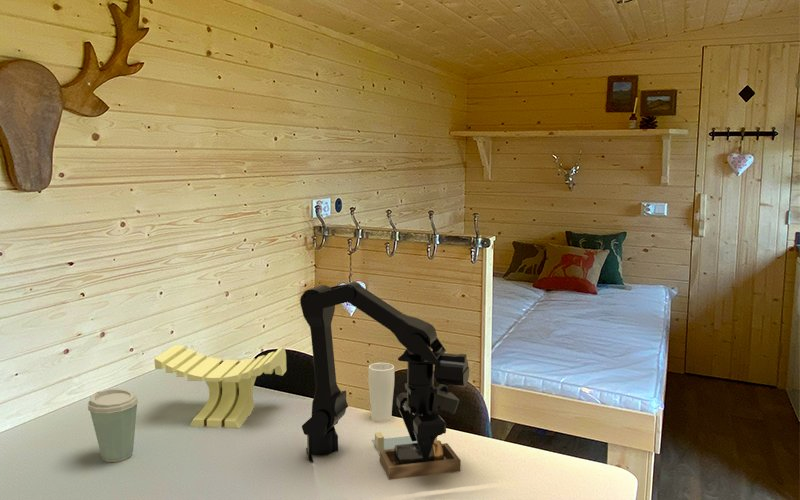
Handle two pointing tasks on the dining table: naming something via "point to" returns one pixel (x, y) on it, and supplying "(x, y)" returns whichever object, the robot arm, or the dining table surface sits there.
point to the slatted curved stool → (222, 382)
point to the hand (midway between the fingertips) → (419, 449)
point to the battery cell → (417, 453)
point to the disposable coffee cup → (114, 422)
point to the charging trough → (420, 465)
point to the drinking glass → (381, 391)
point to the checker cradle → (390, 442)
